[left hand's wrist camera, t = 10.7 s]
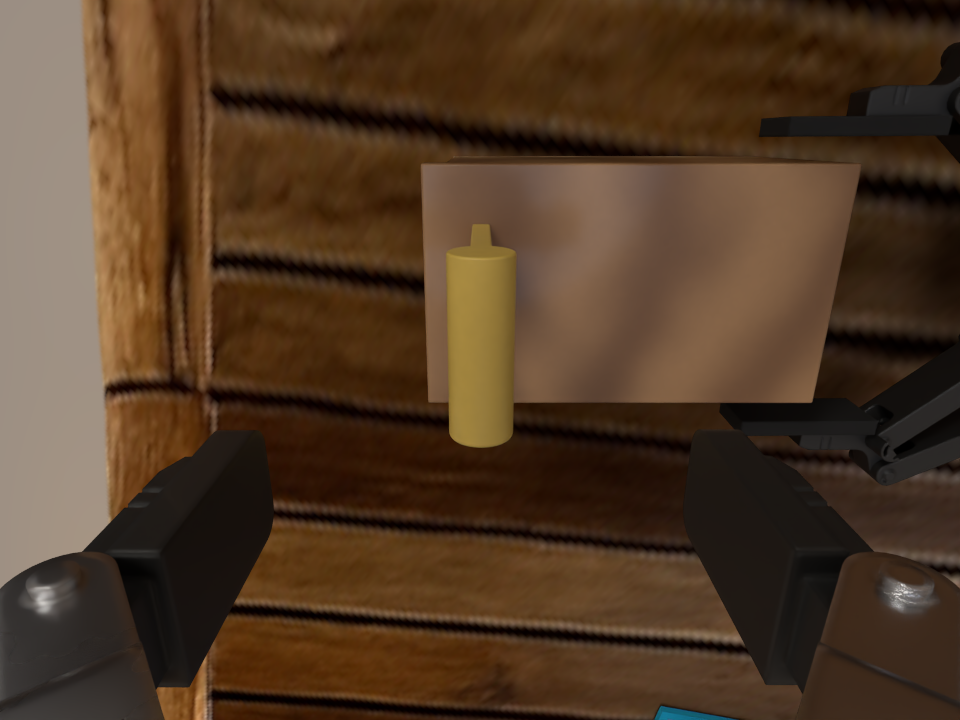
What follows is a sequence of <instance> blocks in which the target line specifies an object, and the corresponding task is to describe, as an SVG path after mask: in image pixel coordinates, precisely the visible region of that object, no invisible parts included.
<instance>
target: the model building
mask: <svg viewBox="0 0 960 720" xmlns="http://www.w3.org/2000/svg"><path fill="white" fill-rule="evenodd" d="M655 720H737V719H731V718H726V717H720V716H715V715H709V714H703V713H698V712H692V711H687V710H681V709H676V708H670V707H664V706H660V709H659V711H658V713H657V715H656V717H655Z"/></svg>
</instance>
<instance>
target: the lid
mask: <svg viewBox="0 0 960 720" xmlns="http://www.w3.org/2000/svg"><path fill="white" fill-rule="evenodd" d="M861 167H862V165H861V164H860V163H423V164H421V191H422V222H423V253H424V284H425V314H426V345H427V376H428V401H429V402H430V403H449V433H450V436H451V437H452V439H453V440H455V441H456V442H458V443H460V444H462V445H465V446H470V447H480V448H482V447H493V446H497V445H500V444H503V443H505V442H506V441H508V440H509V439H510V438H511V436H512V434H513V403H812V401H813V396H814V392H815V387H816V382H817V377H818V372H819V368H820V363H821V358H822V353H823V349H824V344H825V339H826V334H827V329H828V325H829V320H830V315H831V310H832V305H833V301H834V296H835V291H836V286H837V282H838V277H839V272H840V267H841V262H842V258H843V253H844V248H845V243H846V239H847V234H848V229H849V224H850V219H851V215H852V210H853V205H854V200H855V195H856V191H857V186H858V181H859V176H860V172H861Z"/></svg>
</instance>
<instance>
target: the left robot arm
mask: <svg viewBox="0 0 960 720" xmlns="http://www.w3.org/2000/svg"><path fill="white" fill-rule="evenodd" d="M142 490H143V491H142V493H138V494H137V495H136V496H135V497H134V499H133V500H132V501H131V502H130V503H129V504H128V508H124V509H123V510H122V511H121V512H120V513H119V514H118V515H117V516H116V517H115V518H114V519H113V520H112V521H111V522H110V523H109V524H108V525H107V526H106V528H105V529H104V530H103V531H102V532H101V533H100V534H99V535H98V536H97V537H96V538H95V539H94V540H93V541H92V542H91V543H90V544H89V545H88V546H87V547H86V548H85V549H84V550H83V551H82V552H78V553H71V554H67V555H62V556H59V557H55V558H52V559H49V560H47V561H44V562H41V563H39V564H37V565H35V566H32V567H31V568H29V569H27V570H25V571H23V572H21V573H20V574H18V575H17V576H15V577H14V578H12V579H11V580H10V581H8V582H7V583H6V584H5V585H4V586H3V587H2V588H1V589H0V720H164V716H163V713H162V709H161V706H160V703H159V699H158V696H157V692H156V689H157V687H190V685H191V683H192V681H193V679H194V677H195V675H196V674H197V672H198V670H199V668H200V666H201V664H202V662H203V660H204V659H205V657H206V655H207V653H208V651H209V649H210V647H211V645H212V643H213V642H214V640H215V638H216V636H217V634H218V632H219V630H220V628H221V627H222V625H223V623H224V621H225V619H226V617H227V615H228V613H229V611H230V610H231V608H232V606H233V604H234V602H235V600H236V598H237V596H238V594H239V593H240V591H241V589H242V587H243V585H244V583H245V581H246V579H247V578H248V576H249V574H250V572H251V570H252V568H253V566H254V564H255V562H256V561H257V559H258V557H259V555H260V553H261V551H262V549H263V547H264V546H265V544H266V542H267V540H268V538H269V535H270V532H271V529H272V524H273V515H274V505H273V497H272V490H271V482H270V475H269V468H268V461H267V454H266V446H265V441H264V438H263V435H262V434H261V432H260V431H258V430H219V431H215V432H214V433H213V434H212V435H211V436H210V437H209V438H208V439H207V441H206V442H205V443H204V444H203V445H202V446H201V447H200V448H199V449H198V450H197V452H196V453H195V454H194V455H193V456H192V457H184V458H182V459H181V460H179V461H177V462H175V463H174V464H172V465H170V466H168V467H167V468H165V469H163V470H162V471H160V472H159V473H158V474H157V475H156V476H155V477H154V478H153V479H152V480H151V481H150V482H149V483H148V484H147V485H146V486H145V487H144V488H143V489H142ZM683 515H684V523H685V528H686V532H687V535H688V537H689V539H690V541H691V543H692V545H693V547H694V549H695V551H696V552H697V554H698V556H699V558H700V560H701V562H702V564H703V566H704V568H705V570H706V571H707V573H708V575H709V577H710V579H711V581H712V583H713V585H714V587H715V589H716V591H717V592H718V594H719V596H720V598H721V600H722V602H723V604H724V606H725V608H726V610H727V612H728V613H729V615H730V617H731V619H732V621H733V623H734V625H735V627H736V629H737V631H738V632H739V634H740V636H741V638H742V640H743V642H744V644H745V646H746V648H747V650H748V652H749V653H750V655H751V657H752V659H753V661H754V663H755V665H756V667H757V669H758V671H759V673H760V674H761V676H762V678H763V680H764V682H765V684H766V685H798V687H799V689H800V690H801V692H802V694H803V696H802V699H801V703H800V706H799V709H798V713H797V716H796V720H960V589H959V588H958V587H957V586H956V585H955V584H954V583H953V582H952V581H950V580H949V579H948V578H946V577H945V576H943V575H942V574H940V573H939V572H937V571H935V570H933V569H931V568H930V567H928V566H925V565H923V564H921V563H919V562H916V561H913V560H911V559H908V558H905V557H901V556H898V555H893V554H889V553H882V552H874V551H873V550H872V549H871V548H870V547H869V546H868V545H867V544H866V543H865V542H864V540H863V539H862V538H861V537H860V536H859V535H858V534H857V533H856V532H855V531H854V530H853V529H852V528H851V527H850V526H849V525H848V524H847V523H846V522H845V521H844V520H843V519H842V517H841V516H840V515H839V514H838V513H837V512H836V511H835V510H834V509H833V508H832V507H831V506H827V502H826V501H825V500H824V499H823V498H822V497H821V496H820V494H819V493H818V492H814V491H813V487H812V486H811V485H810V484H809V483H808V482H807V481H806V480H805V479H804V478H803V477H802V476H801V475H800V474H799V473H798V471H796V470H795V469H793V468H791V467H790V466H788V465H786V464H784V463H783V462H781V461H779V460H777V459H776V458H774V457H772V456H764V455H763V454H762V453H761V452H760V450H759V449H758V448H757V447H756V446H755V445H754V444H753V443H752V442H751V440H750V439H749V438H748V437H747V436H746V435H745V434H744V433H743V432H742V431H741V430H697V431H696V432H695V434H694V436H693V439H692V444H691V451H690V458H689V466H688V473H687V480H686V488H685V495H684V503H683Z"/></svg>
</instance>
